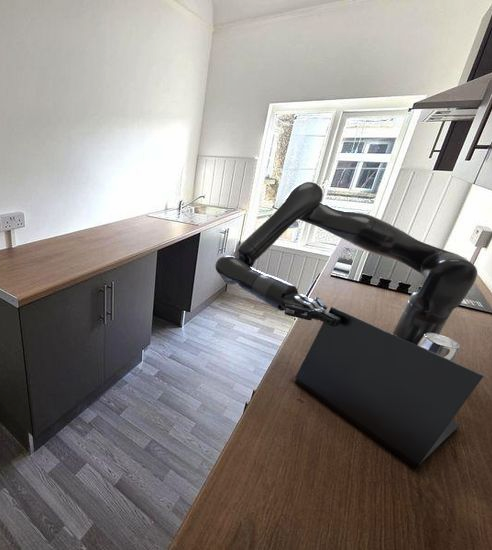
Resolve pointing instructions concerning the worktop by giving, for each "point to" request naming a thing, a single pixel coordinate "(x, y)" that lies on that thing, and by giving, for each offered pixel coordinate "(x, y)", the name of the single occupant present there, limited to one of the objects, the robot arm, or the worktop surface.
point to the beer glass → (439, 345)
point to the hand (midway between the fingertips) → (337, 323)
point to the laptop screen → (387, 383)
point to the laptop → (444, 436)
